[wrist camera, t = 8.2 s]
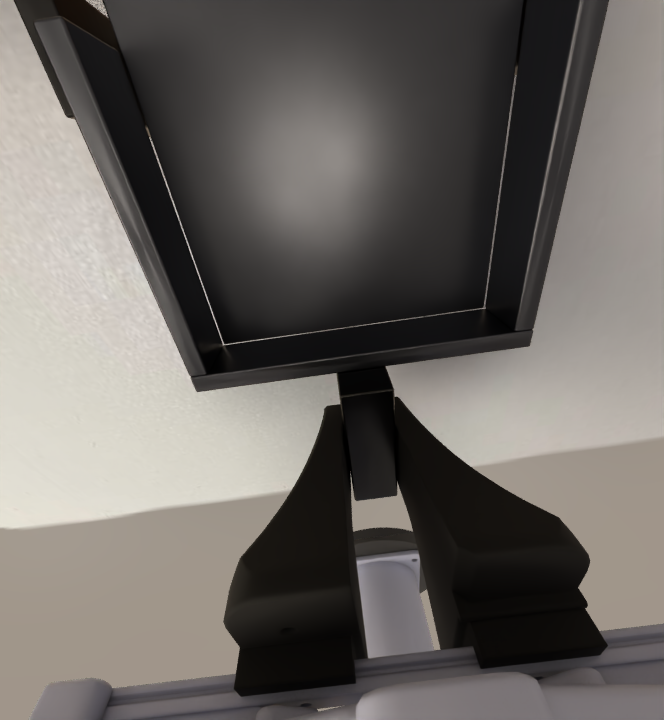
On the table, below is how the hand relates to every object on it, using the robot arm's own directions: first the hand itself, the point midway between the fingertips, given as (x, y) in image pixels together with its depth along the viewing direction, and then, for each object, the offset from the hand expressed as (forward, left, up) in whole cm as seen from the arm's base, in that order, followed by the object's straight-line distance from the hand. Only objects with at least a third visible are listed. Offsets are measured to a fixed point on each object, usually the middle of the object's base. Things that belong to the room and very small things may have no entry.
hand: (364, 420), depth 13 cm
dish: (+6, 0, -1) cm, 6 cm away
